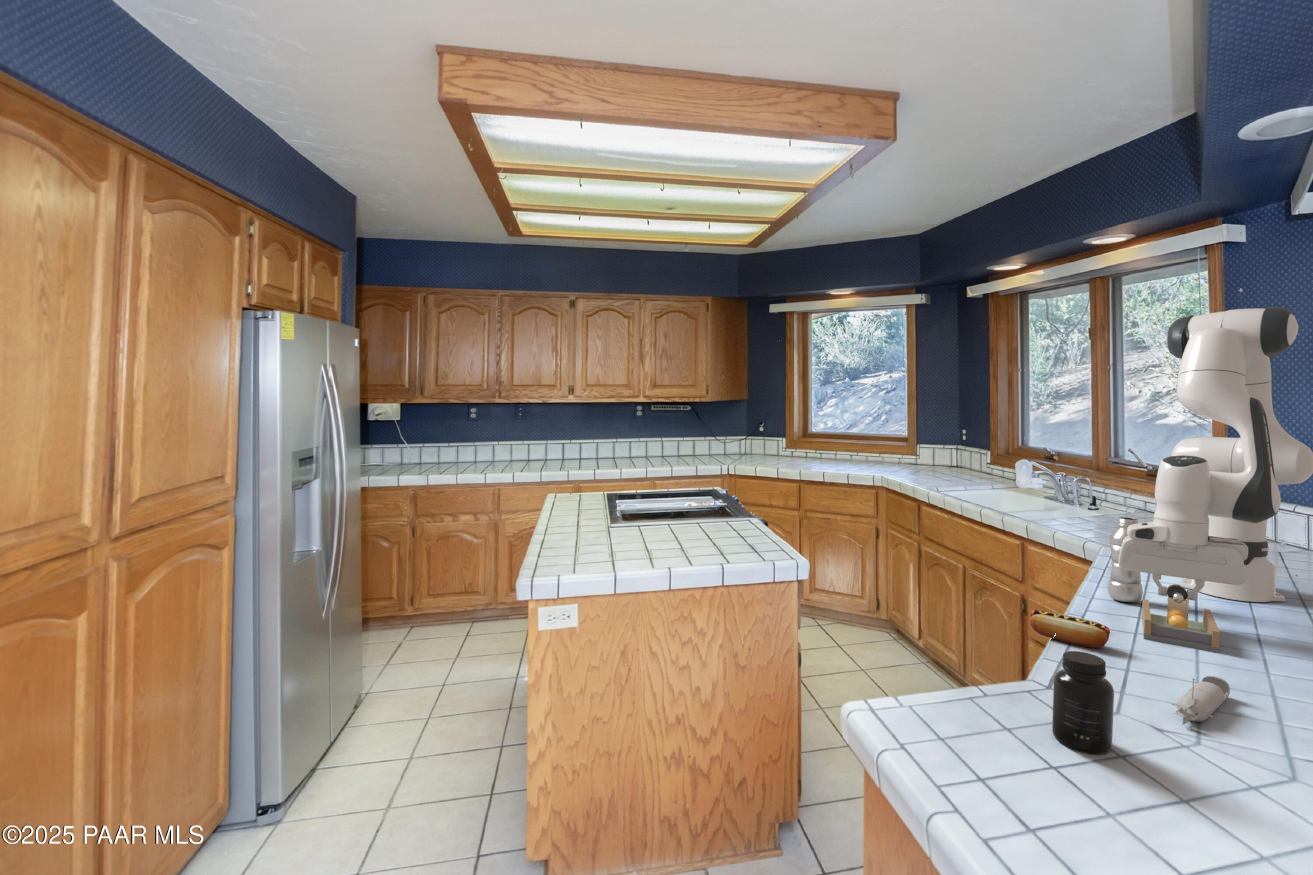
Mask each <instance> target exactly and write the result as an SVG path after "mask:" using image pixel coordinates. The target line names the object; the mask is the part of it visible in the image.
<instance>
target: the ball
mask: <svg viewBox="0 0 1313 875" xmlns="http://www.w3.org/2000/svg"><path fill="white" fill-rule="evenodd" d="M1169 625H1170V626H1171V627H1176V628H1181V629H1186V628H1187V627H1188V622H1187V620H1186V619H1185V618H1184V617H1182V616H1179V615H1174V616H1171V617H1170V618H1169Z"/></svg>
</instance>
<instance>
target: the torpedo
mask: <svg viewBox="0 0 1313 875" xmlns="http://www.w3.org/2000/svg"><path fill="white" fill-rule="evenodd" d="M1191 680H1192V687H1191V688H1190V689H1188V691H1187V692H1186V693H1185V694H1183V695H1182V696H1181V697H1180V698H1179V699H1178V701H1177V702H1176V703H1173V702H1172V703H1171V705H1172V706H1176V708H1177V710H1176V711H1175V713H1174V714H1175V715H1177V716H1179V717H1183V718H1182V726H1184V725H1185V724H1188V723H1189V722H1193V723H1194V722H1198V723H1199V722H1200V723H1201V722H1204V721H1206V720H1207V719H1208V718H1209V717H1210V718H1214V716H1213V715H1212V714H1213V713H1214V712H1215V711H1216V710H1218V708H1220V706H1221V705H1222V704H1223V703H1224V702H1225V701H1226V700H1227V699H1228V698H1229V696H1230V693H1231V691H1230V690H1231V689H1230V685H1229V683H1228V682H1227V681H1226V680H1225V679H1223V678H1221V677H1217V676H1214V675H1213V676H1212V675H1206V676H1205V677H1203V678H1202V680H1201V681H1198V682H1197V683H1196V684H1195V681H1196V678H1193V677H1192V678H1191Z"/></svg>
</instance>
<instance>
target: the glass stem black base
mask: <svg viewBox="0 0 1313 875" xmlns="http://www.w3.org/2000/svg"><path fill="white" fill-rule="evenodd" d="M1167 588H1168V592H1167V606H1166V607H1167V610H1166V611H1167V612H1166V616H1167V623H1169V618H1170V617H1171V616H1174V615H1179V616H1182V617H1184V618H1185V619H1186V620H1187V622H1188V620H1189V607H1190V604H1189V603H1190V600H1187V597H1188V595H1187V589H1186V588H1185V587H1182V586H1181V584H1180V585H1179V584H1171V585H1169V586H1167Z"/></svg>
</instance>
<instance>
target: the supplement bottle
mask: <svg viewBox="0 0 1313 875" xmlns="http://www.w3.org/2000/svg"><path fill="white" fill-rule="evenodd" d="M1106 664H1107V663H1106V660H1104V659H1103V658H1102V657H1100V656H1098V655H1096V654H1092V653H1088V652H1085V651H1079V650H1078V651H1077V650H1068V651H1065V652H1063V656H1062V663H1061V667H1062V668H1063V669H1060V670H1058V671H1057V672H1056V673H1055V674H1054V675H1053V676H1054V677H1053V689H1052V692H1053V697H1052V720H1051V721H1052V727H1051V728H1052V729H1051V730H1052V735H1053V736H1054V738H1056V740H1057V741H1058V742H1060V743H1061V744H1062V745H1064V746H1066V747H1067V748H1069V749H1072V750H1074V751H1078V752H1081V753H1085V754H1090V755H1103V754H1107V753H1109V752H1110V751H1111V749H1112V746H1113V733H1114V732H1113V731H1114V730H1113V729H1114V705H1115V704H1114V700H1115V690H1114V687H1113V685H1112V683H1111V681H1109V680H1108V679H1106V676H1107V669H1106Z"/></svg>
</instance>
